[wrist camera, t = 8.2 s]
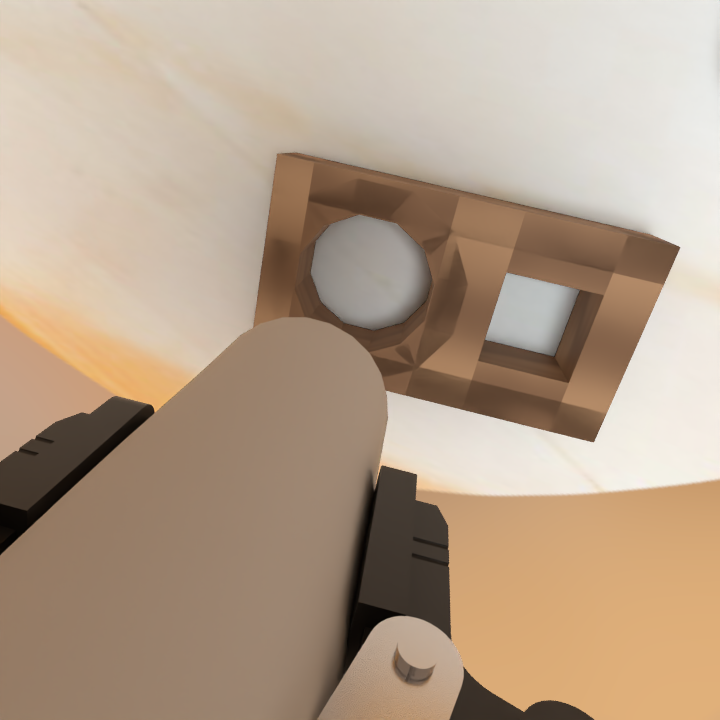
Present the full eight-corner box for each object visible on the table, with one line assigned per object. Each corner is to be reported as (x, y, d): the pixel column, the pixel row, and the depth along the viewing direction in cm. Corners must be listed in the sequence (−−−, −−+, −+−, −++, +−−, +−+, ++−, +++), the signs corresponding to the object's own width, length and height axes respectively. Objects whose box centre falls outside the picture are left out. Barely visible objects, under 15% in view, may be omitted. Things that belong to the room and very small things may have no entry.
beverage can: (200, 431, 16) (-382, 1128, 5) (246, 279, 14) (-552, 837, 3) (354, 494, 16) (153, 1331, 5) (421, 352, 14) (356, 1188, 3)
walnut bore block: (296, 152, 27) (277, 153, 24) (650, 234, 26) (680, 247, 23) (268, 334, 31) (249, 356, 28) (577, 410, 30) (593, 442, 27)
